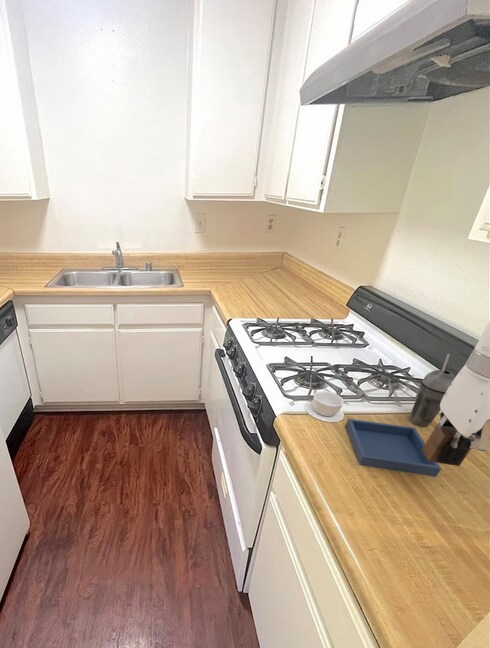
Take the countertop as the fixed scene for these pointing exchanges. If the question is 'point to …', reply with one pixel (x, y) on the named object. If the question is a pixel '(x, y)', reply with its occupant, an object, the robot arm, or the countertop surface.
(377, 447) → the tray
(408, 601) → the countertop surface
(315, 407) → the teacup
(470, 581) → the countertop surface
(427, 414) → the beverage cup
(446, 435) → the block
